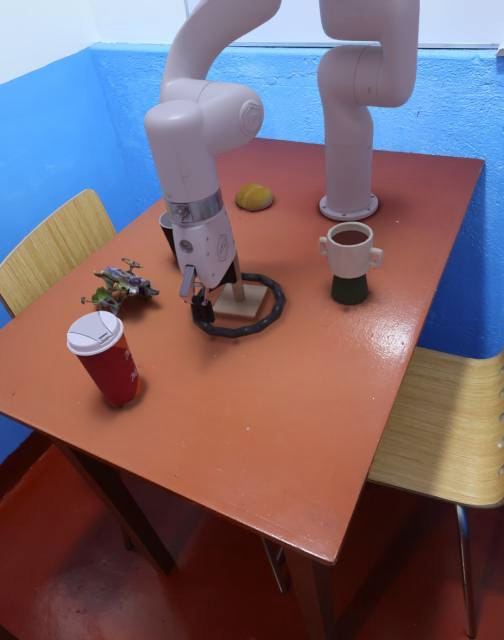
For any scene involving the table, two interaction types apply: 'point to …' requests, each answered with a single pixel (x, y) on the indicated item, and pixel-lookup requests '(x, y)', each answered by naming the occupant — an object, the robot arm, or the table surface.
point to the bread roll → (254, 197)
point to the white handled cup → (350, 260)
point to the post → (240, 296)
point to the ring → (252, 328)
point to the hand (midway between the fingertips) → (217, 300)
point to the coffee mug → (168, 231)
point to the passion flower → (120, 286)
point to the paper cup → (105, 356)
